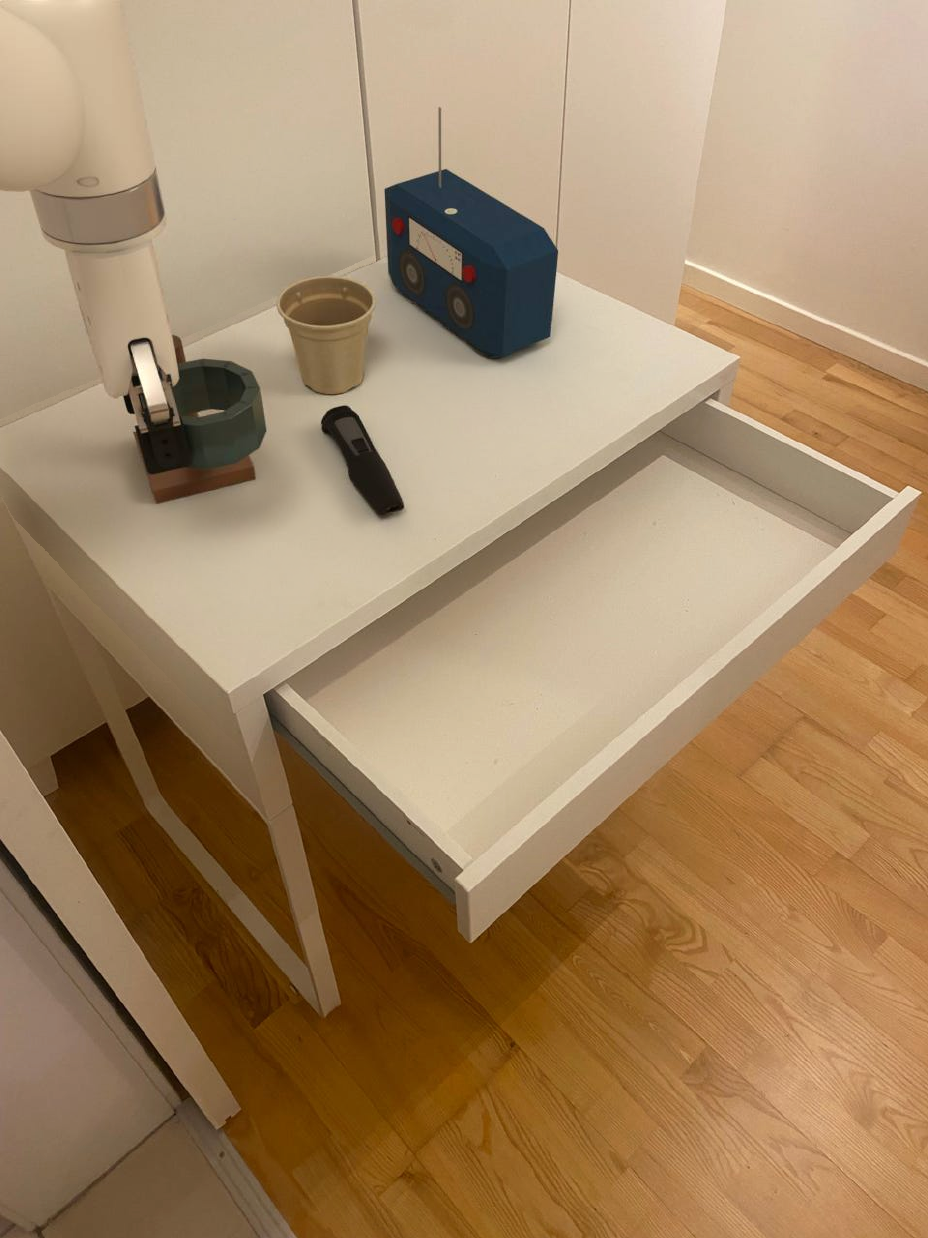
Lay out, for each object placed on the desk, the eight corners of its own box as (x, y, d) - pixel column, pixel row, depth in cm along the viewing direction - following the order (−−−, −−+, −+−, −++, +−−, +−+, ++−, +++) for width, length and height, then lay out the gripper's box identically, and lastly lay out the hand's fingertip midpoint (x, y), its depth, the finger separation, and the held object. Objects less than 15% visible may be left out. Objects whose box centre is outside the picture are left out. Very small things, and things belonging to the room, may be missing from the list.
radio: (378, 286, 110) (368, 99, 95) (440, 264, 113) (440, 81, 98) (490, 372, 99) (499, 176, 84) (555, 345, 102) (574, 152, 87)
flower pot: (362, 344, 102) (356, 267, 95) (393, 392, 96) (390, 314, 90) (276, 362, 99) (264, 285, 93) (303, 413, 93) (292, 335, 87)
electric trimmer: (373, 533, 83) (371, 506, 80) (318, 429, 92) (315, 401, 89) (414, 522, 84) (413, 494, 81) (355, 420, 93) (353, 392, 90)
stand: (156, 504, 84) (120, 383, 75) (136, 444, 90) (101, 325, 80) (256, 479, 87) (233, 359, 77) (231, 422, 92) (207, 304, 83)
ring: (165, 479, 70) (154, 435, 67) (143, 416, 75) (131, 371, 72) (277, 453, 72) (271, 409, 69) (248, 394, 77) (241, 350, 74)
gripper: (19, 155, 63) (89, 386, 76) (54, 278, 52) (129, 521, 66) (135, 140, 65) (183, 367, 78) (191, 255, 55) (237, 495, 68)
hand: (158, 436), depth 72 cm, fingers closed on ring, 7 cm apart
